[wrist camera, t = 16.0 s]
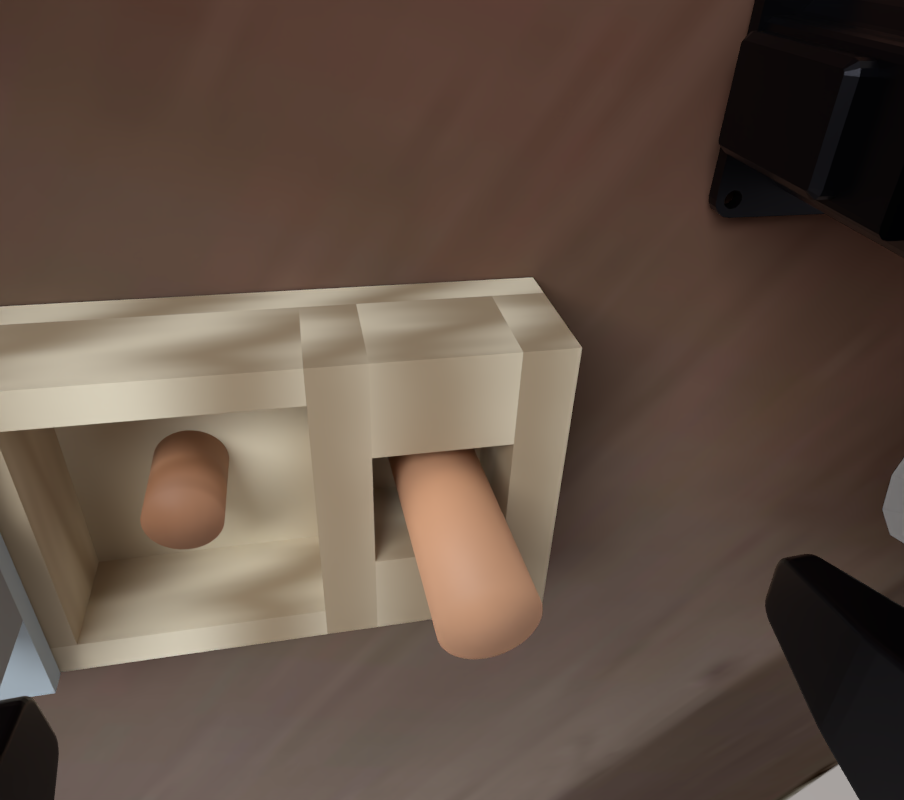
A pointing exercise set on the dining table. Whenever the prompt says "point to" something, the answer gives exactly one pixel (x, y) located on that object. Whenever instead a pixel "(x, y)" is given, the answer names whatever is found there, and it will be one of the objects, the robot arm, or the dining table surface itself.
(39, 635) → the lid
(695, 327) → the dining table surface
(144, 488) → the wooden compartment tray
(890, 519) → the french press
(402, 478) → the peg
